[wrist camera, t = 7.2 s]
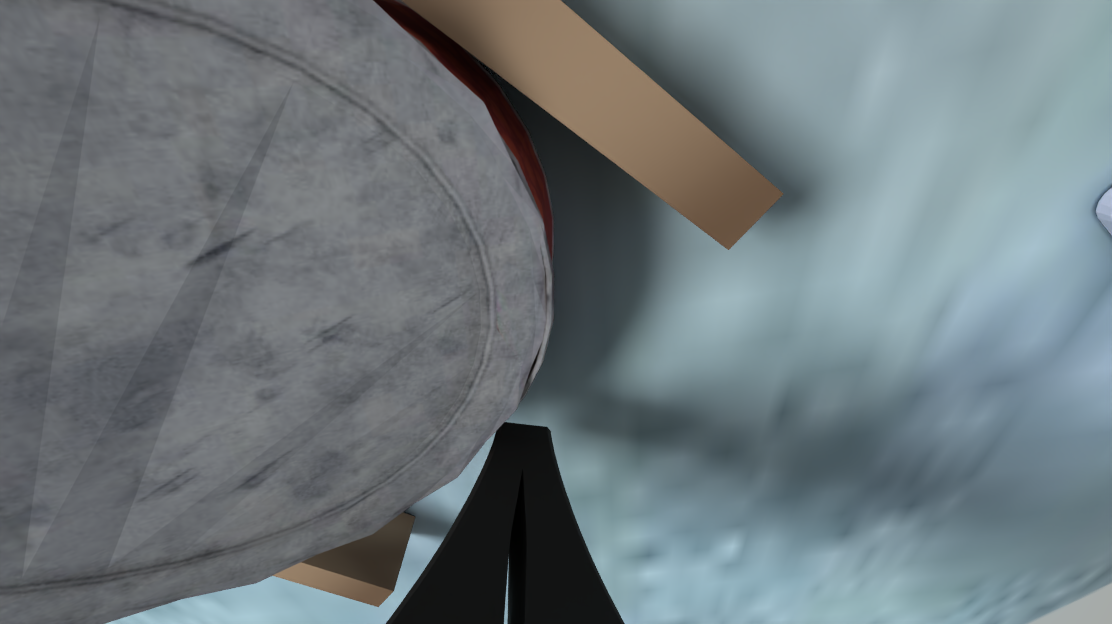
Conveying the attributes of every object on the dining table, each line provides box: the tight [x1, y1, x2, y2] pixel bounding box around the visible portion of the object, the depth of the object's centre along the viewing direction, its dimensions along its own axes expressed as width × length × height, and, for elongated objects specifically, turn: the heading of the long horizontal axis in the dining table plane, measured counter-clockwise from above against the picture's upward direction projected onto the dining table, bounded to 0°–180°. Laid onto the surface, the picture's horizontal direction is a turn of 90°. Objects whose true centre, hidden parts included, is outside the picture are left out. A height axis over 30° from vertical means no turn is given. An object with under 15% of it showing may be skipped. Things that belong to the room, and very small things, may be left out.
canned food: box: [0, 0, 554, 624], centre depth 7 cm, size 11×10×10 cm
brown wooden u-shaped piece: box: [272, 0, 783, 607], centre depth 10 cm, size 13×16×2 cm
